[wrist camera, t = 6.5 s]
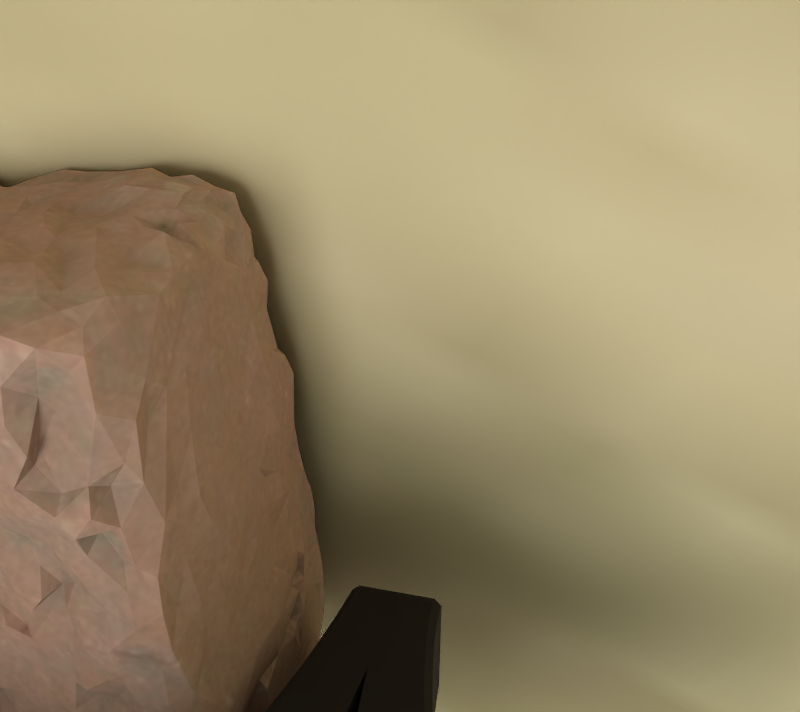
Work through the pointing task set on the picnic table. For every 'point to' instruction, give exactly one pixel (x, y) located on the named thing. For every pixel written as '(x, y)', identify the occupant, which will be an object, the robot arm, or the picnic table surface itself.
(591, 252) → the picnic table surface
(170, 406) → the brown faceted rock
